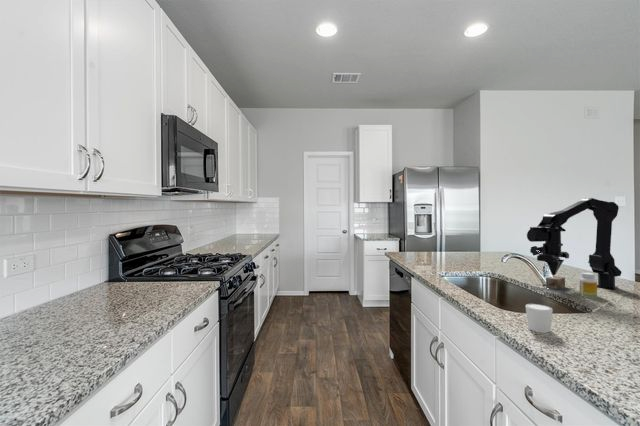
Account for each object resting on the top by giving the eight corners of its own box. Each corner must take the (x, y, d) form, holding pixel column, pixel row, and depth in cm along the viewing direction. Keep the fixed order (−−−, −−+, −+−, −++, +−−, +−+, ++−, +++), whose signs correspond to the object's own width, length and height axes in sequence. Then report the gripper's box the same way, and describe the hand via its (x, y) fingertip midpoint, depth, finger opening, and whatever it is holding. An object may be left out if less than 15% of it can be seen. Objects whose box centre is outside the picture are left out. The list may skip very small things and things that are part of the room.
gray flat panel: (544, 284, 145) (544, 283, 145) (575, 289, 135) (575, 288, 135) (531, 288, 137) (531, 288, 137) (562, 294, 127) (562, 293, 127)
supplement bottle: (600, 298, 121) (600, 274, 121) (587, 298, 121) (587, 275, 121) (589, 294, 127) (588, 272, 127) (576, 294, 127) (576, 272, 127)
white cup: (545, 335, 88) (545, 312, 88) (521, 327, 94) (520, 305, 94) (557, 330, 91) (557, 308, 91) (533, 323, 97) (532, 302, 97)
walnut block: (546, 287, 137) (553, 285, 142) (558, 289, 134) (565, 286, 138) (546, 278, 137) (553, 275, 142) (557, 279, 134) (564, 277, 138)
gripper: (541, 238, 148) (542, 269, 148) (523, 241, 138) (524, 274, 138) (569, 240, 139) (569, 273, 139) (552, 243, 129) (553, 279, 129)
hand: (553, 274), depth 136 cm, fingers closed
